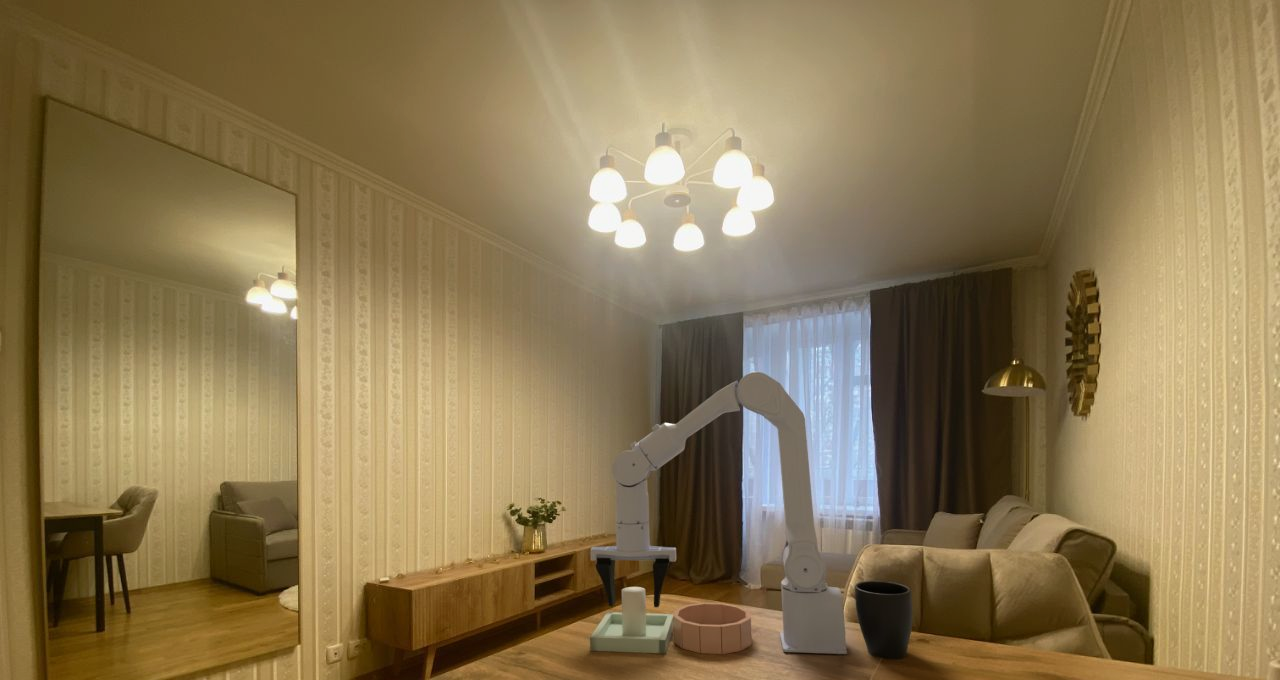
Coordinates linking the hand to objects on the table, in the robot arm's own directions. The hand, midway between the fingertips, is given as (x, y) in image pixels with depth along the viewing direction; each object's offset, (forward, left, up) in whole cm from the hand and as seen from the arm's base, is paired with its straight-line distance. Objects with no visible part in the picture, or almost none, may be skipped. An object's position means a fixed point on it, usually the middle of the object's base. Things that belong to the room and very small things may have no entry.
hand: (634, 605), depth 102 cm
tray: (0, 0, -5) cm, 5 cm away
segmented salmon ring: (-13, -1, -5) cm, 14 cm away
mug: (-40, 0, -5) cm, 40 cm away
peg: (0, 0, -5) cm, 5 cm away
